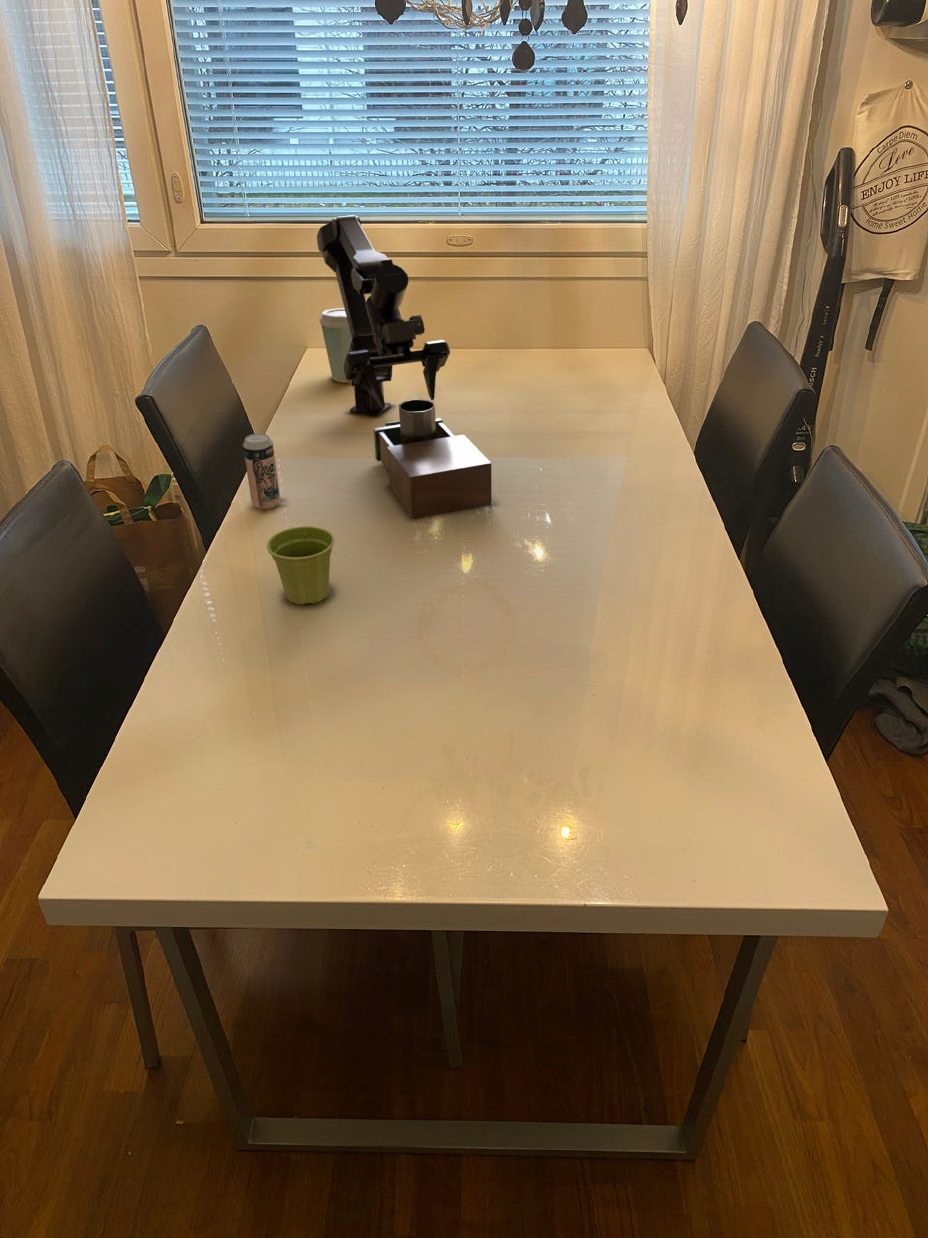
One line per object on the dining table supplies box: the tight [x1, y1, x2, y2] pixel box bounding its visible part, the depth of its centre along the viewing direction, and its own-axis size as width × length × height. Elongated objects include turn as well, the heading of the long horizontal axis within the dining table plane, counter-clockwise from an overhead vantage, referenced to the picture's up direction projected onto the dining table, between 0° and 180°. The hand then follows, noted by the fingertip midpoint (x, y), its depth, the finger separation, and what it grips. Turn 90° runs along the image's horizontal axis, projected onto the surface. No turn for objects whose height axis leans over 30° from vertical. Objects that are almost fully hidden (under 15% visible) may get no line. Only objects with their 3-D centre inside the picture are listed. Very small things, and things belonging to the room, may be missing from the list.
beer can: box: [242, 432, 281, 510], centre depth 159 cm, size 5×5×12 cm
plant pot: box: [266, 525, 335, 606], centre depth 136 cm, size 9×9×9 cm
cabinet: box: [387, 434, 492, 519], centre depth 162 cm, size 13×14×8 cm
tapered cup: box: [398, 398, 436, 445], centre depth 169 cm, size 6×6×11 cm
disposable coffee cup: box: [318, 307, 352, 383], centre depth 211 cm, size 11×11×15 cm
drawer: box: [372, 417, 455, 474], centre depth 173 cm, size 16×13×6 cm
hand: (408, 402), depth 171 cm, fingers open, 9 cm apart
